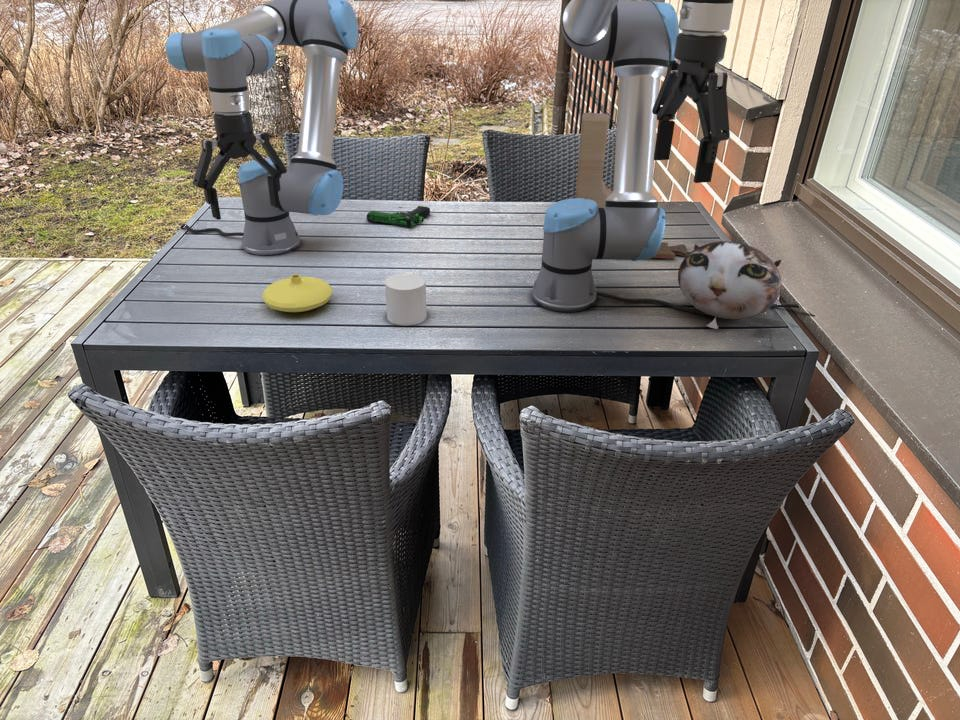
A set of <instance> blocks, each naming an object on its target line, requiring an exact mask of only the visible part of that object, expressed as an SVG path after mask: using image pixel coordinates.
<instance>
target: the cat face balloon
mask: <svg viewBox="0 0 960 720" xmlns="http://www.w3.org/2000/svg"><path fill="white" fill-rule="evenodd" d="M781 263H782V259H779V260H776V261H773V259H771V258H770V257H769V256H768V255H767V254H765V253H764V252H763V251H761V250H759V249H758V248H756V247H753V246H751V245H749V244H745V243H743V242H737V241H727V240H726V241H725V240H724V241H714V242H710V243H709V242H708V243H705V244H703V245H701V246H698V244H696V243H695V244H694V246H693V250H692V251H690V252H689V253H687V256H684V258H683V259H682V262H681V263H680V265H679V269H678V272H677V282H678V286H679V289H680V291H681V293H682V295H683V296H684V298H685V300H686V301H687V302H689V303H690V304H691V306H693V307H694V308H695V309H699V310H700V311H702V312H704V313H706V314H705V315H708V316H712V317H714V319H713V320H712V321H711V322H709V323H708V324H706V325H705V326H706V327H708V328H710V329H715V330H720V329H719V326H718V324H717V318H719V319H722V320H723V319H724V320H745V319H749V318H753V317H757V316H758V315H761V314H763V313H764V312H766V311H768V310H769V309H770V308H772V307H771V306H772V305H773V304H774V303H777V300H778V298H779V297H780V294H781V291H782V285H783V283H782V276H781V272H780V271H779V268H778V267H779V266H780V265H781Z"/></svg>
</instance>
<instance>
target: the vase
mask: <svg viewBox="0 0 960 720" xmlns="http://www.w3.org/2000/svg"><path fill="white" fill-rule="evenodd" d="M332 295H333V287H332V286H331V285H330V284H329V283H328V282H327V281H326V280H324V279H322V278H318V277H314V276H301V274H298V273H295V274H291V275H290V277H287V278H282V279H279V280H276V281H274V282H272V283H270V284H269V285H268V286H267V287H266V288H265V289H264V290H263V292H262V294H261V296H262V300H263V302H264V303H265V304H266V306H267V307H268V308H270V309H273V310H276V311H279V312H286V313H303V312H308V311H311V310H314V309H316V308H319V307H322V306H324V305H325V304H327V303H328V302H329V301H330V300H331V297H332Z"/></svg>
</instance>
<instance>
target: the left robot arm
mask: <svg viewBox="0 0 960 720" xmlns="http://www.w3.org/2000/svg"><path fill="white" fill-rule="evenodd" d="M359 35H360V34H359V24H358V19H357V16H356V13H355V10H354V8H353V6H352V4H351V3H350V2H349V1H348V0H272V1H269V2H266V3H263V4H261V5H260V4H259V5H257V6H255V7H254V8H253V9H251V11H250V13H249V14H245V15H243V16H240V17H237V18H234V19H231V20H228V21H224V22H222V23H219V24H216V25H213V26H210V27H207V28H205V29H201V30H198V31H195V32H194V31H193V32H184V31H181V32H173V33H171V34H169V35H168V37H167V38H166V41H165V54H166V58H167V61H168V63H169V64H170V65H171V67H173V68H174V69H175V70H178V71H184V72H185V71H186V72H188V73H191V72H200V73H201V72H202V73H206V78H207V83H208V91H209V99H210V104H211V110H212V111H213V112H214V113H213V115H212V116H213V123H214V128H215V134H216V138H215V139H208V138H202V140H201V152H200V156H199V160H198V163H197V167H196V170H195V174H194V176H193V180H192V184H193V186H195V187H197V188H198V189H202V190H203V194H204V201H205V203H206V204H207V205H210V209H211V215H212V217H213V218H214V219H215V220H217V221H220V220H222V216H221V211H220V204H219V199H218V193H217V189H216V188H215V187H214V185H215V184H216V182H217V180H218V178H219V177H220V175H221V173H222V172H223V170H224V168H225V167H226V164H227V163H229V161H230V160H231V159H232V160H237V159H240V158H243V159H245V158H248V157H249V156H250V157H251V158H252V159H253V160H250V161H247V162H244V163H242V164H241V165H240V166H239V167H238V170H237V174H238V185H239V190H240V196H241V202H242V203H241V204H242V208H243V212H244V213H243V215H244V219H245V220H244V226H243V228H244V229H243V232H239V231H237V232H224V231H223V230H222V229H220V228H217V227H208V228H201V229H195V228H192V227H190V226H189V225H188V224H186V223H183V224H181V225H180V227H179V228H180V229H181V230H183V229H186V230H187V231H189V232H190V233H193V234H202V233H208V232H217V233H219V234H220V235H221V236H223V237H241V246H242V249H243V251H244V252H246V253H248V254H252V255H255V256H256V255H257V256H275V255H281V254H282V255H283V254H285V253H289V252H291V251H293V250H296V249H297V248H298V247H299V246H300V244H301V241H300V235H299V233H298V231H297V229H296V227H295V225H294V223H293V220H292V218H291V216H290V213H295V214H306V215H312V216H329V215H331V214H333V213H335V211H336V210H337V209H338V208H339V206H340V204H341V201H342V198H343V193H344V178H343V175H342V173H341V172H340V171H338V169H337V167H338V164H337V163H336V162H335V160H334V159H333V149H334V137H335V130H336V129H335V128H336V118H337V107H338V97H339V90H340V89H339V87H340V78H341V77H340V76H341V69H342V64H343V63H345V62H346V61H347V60H348V58H349V51H353V50H355V49H356V48H357V46H358V45H359V38H360V37H359ZM277 46H288V47H289V46H290V47H301V52H302V53H303V55H304V56H305V57H306V62H305V63H306V64H305V72H304V73H305V75H304V83H303V84H304V85H303V96H302V104H301V105H302V107H301V116H300V128H299V136H298V138H299V139H298V147H297V148H298V149H297V152H296V154H294V155H293V156H292V157H291V158H290V166H288V165H285V162H284V161H283V158H281V157H280V156H279V154H278V152H277V151H276V150H275V148H274V147H273V145H272V143H271V141H270V136H269V133H267V132H265V131H262V130H259V131H258V133H254V126H253V125H254V124H253V117H252V113H251V112H250V109H251V103H250V96H249V88H248V82H247V80H248V79H247V77H251V76H255V75H262V74H263V73H265V72H267V71H269V70H271V69H272V68H273V67H274V65H275V63H276V60H277V59H276V58H277V57H276V56H277V53H276V50H275V47H277ZM257 142H258V143H259V144H260V145H261V147H262V148H263V150H264V151H265V153H266V154H267V156H268V157H263V156H262V155H261V154H260V152H259V151H258V150H257V149H256V148H254V147H255V144H256V143H257ZM216 147H217V148H218V149H219V151H218V153H217V154H216V158H215V160H214V161H213V164H212V165H211V167H210V164H211V160H212V157H213V152H214V151H215V150H216ZM185 225H186V226H185ZM184 226H185V227H184ZM183 227H184V228H183ZM182 228H183V229H182Z"/></svg>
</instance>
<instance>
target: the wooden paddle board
mask: <svg viewBox="0 0 960 720" xmlns="http://www.w3.org/2000/svg"><path fill="white" fill-rule="evenodd" d="M687 255H688V249H687V247H686V245H685V244H677V245H671V246H669V243H668V242H665V241H662V243H661V245H660V248H659V250H658V252H657V253H656V255H655V256H654V257H653V258H652V259H675V258H676V256H681V257H686V256H687Z"/></svg>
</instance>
